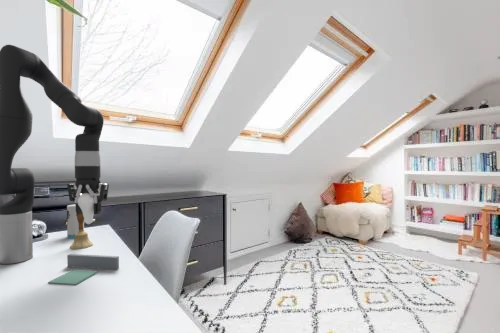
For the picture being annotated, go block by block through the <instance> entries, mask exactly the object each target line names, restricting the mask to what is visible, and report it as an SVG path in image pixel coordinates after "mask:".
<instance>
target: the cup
mask: <svg viewBox="0 0 500 333" xmlns="http://www.w3.org/2000/svg"><path fill="white" fill-rule="evenodd" d="M66 221H67V222H66V224H67V225H66V227H67V228H66V231H67V232H66V233H67V235H66V236H67V237H68V238H67V239H75V234H76V233H78V232H79V223H78V220H77V212H76V204H68V205H67V206H66ZM83 229H84V230H85V222H84V221H83Z"/></svg>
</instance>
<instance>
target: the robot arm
mask: <svg viewBox="0 0 500 333" xmlns="http://www.w3.org/2000/svg"><path fill="white" fill-rule="evenodd" d="M21 77H22V78H28V79H30V80H32V81H34V82H36V83H38V84H39V85H41V87H42V88H43V90H44V93H45V95H46V96H47V98H48V99H49V100H50V101H51V102H52V103H53V104H55V105H56V106H58V107H59V109H61V110H62V112H63V113H64V115H65V116H66V118H67V119H68V120H69V121H70V123H71V122H72V123H73V124H74V125H77V126H79V127H84V128H83V131H82V133H78V134H77V135H75V138H74V142H75V145H74V147H75V148H74V149H75V153H74V179H76V181H75V183H68V184H67V185H66V187H67V192H68V199H69V201H70V202H73V203H75V204H76V212H77V214H82V213H83V212H82V210H81V208H80V207H79V205H78V198H79V197H80V195H82V194H84V193H88V194H90V196H91V198H93V201H94V203H95V204H94V215H100V214H101V213H102V203H103V202H105V201H108V196H109V195H108V194H109V186H110V184H109V183H103V182H101V180H100V179H101V177H102V176H101V154H100V138H101V135H102V132H103V131H102V130H103V126H104V120H105V119H104V115H103V113H102V112H101V111H100V110H99V109H98V108H95V107H92V106H88V105H86V104H83V102H82V99H81V97H80V96H79V95H78V94H77V93H76V92H74V91H73V90H72V89H71V88H69V86H68V85H66V84H65V83H63V82H62V81H61V80H60V79H59V78H58V76H56V75H55V73H53V71H52V70H51V69H50V68H49V67H48V66H47V65H46V63H45V62H44V61H43V60H42V59H41V58H40V57H39V56H38V55H37V54H35V53H33V52H31V51H28V50H27V49H24V48H21V47H18V46H16V45H12V44H5V45H3V46H2V47H1V49H0V196H4V195H5V196H6V195H15V196H13V197H14V198H12V199H10V200H9V201H7V202H5V203H2V204H0V264H1V265H10V264H18V263H22V262H26V261H28V260H31V259H32V258H33V256H34V254H33V253H34V252H33V251H34V248H33V247H34V246H33V245H34V242H33V240H34V239H33V205H34V201H35V176H34V173H33V171H32V170H31V169H30V168H27V167H26V168H25V167H21V168H17V167H16V168H15V167H14V168H13V167H12V165H13V161H14V157H15V155H16V154H17V152H18V151H19V150H20V149H21V147H22V146H24V145H25V143H26V142H27V141H28V139H29V138H30V137H31V134H32V130H33V112H32V110H31V108H30V106H29V104H28V102H27V100H26V98H25V96H24V94H23V92H22V88H21Z"/></svg>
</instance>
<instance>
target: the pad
mask: <svg viewBox="0 0 500 333" xmlns="http://www.w3.org/2000/svg"><path fill="white" fill-rule="evenodd" d="M98 272H99V271H98V270H81V269H72V270H70V271H67V272H66V273H65V272H64V274H61V275H59V276H57V277H55V278H53V279H52V280H49V281H47V284H50V285H51V284H52V285H67V286H78V285H79V284H81V283H82V282H84V281H86V280H87V279H90V278H91V277H93V276H95V275H96V274H98Z"/></svg>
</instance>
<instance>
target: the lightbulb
mask: <svg viewBox="0 0 500 333" xmlns="http://www.w3.org/2000/svg"><path fill="white" fill-rule="evenodd" d="M94 204H95V203H94V201H93V198H91V196H90V194H88V193H84V194H82V195H80V197H79V198H78V205H79V207H80V208H81V210H82V212H83V217H84V224H87V225H90V224H92V223H93V222H94V215H95V214H94Z"/></svg>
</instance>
